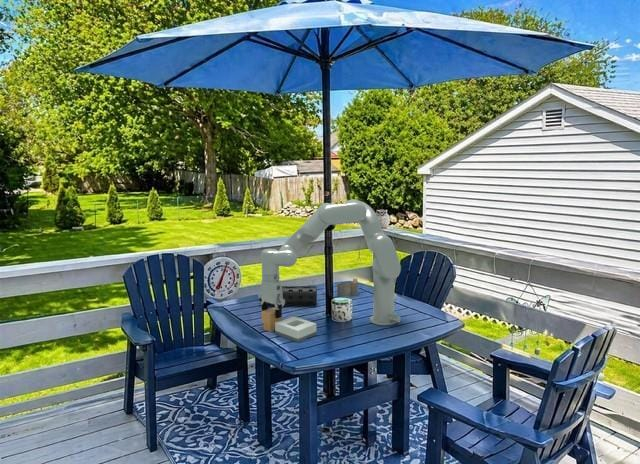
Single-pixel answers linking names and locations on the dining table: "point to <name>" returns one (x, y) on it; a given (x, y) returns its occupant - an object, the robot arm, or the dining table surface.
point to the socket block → (295, 329)
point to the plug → (269, 319)
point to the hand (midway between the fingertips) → (271, 315)
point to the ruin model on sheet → (347, 288)
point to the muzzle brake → (299, 295)
